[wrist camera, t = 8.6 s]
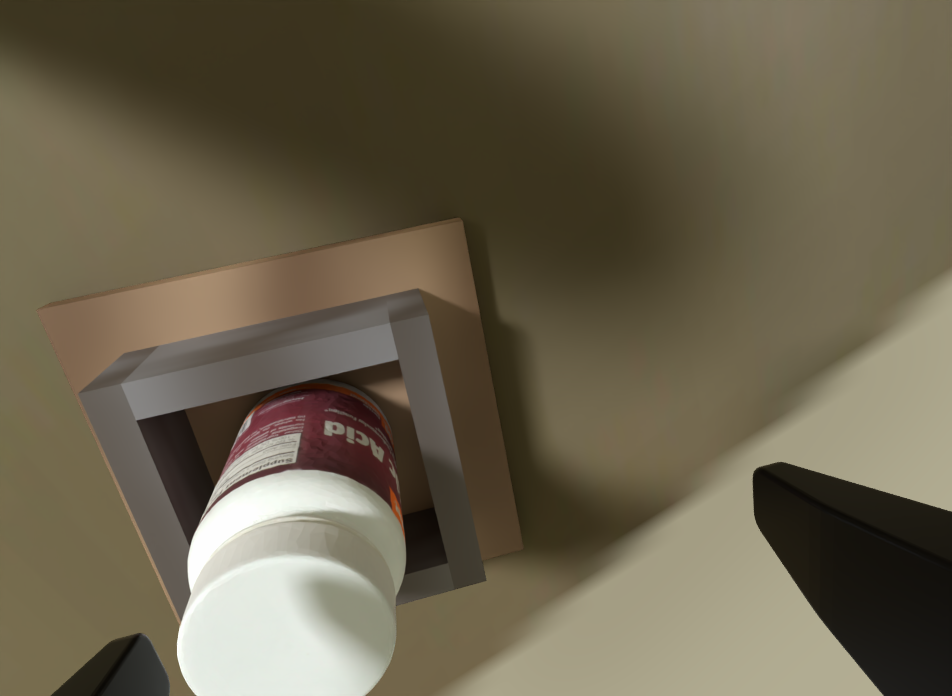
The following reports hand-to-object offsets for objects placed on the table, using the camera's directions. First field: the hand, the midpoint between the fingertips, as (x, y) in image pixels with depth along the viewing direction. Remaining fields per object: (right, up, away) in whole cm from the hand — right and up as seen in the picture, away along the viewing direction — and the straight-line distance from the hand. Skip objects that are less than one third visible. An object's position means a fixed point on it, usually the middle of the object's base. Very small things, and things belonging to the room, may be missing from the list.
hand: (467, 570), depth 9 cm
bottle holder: (-5, 0, +11) cm, 12 cm away
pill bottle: (-5, 0, +11) cm, 12 cm away
